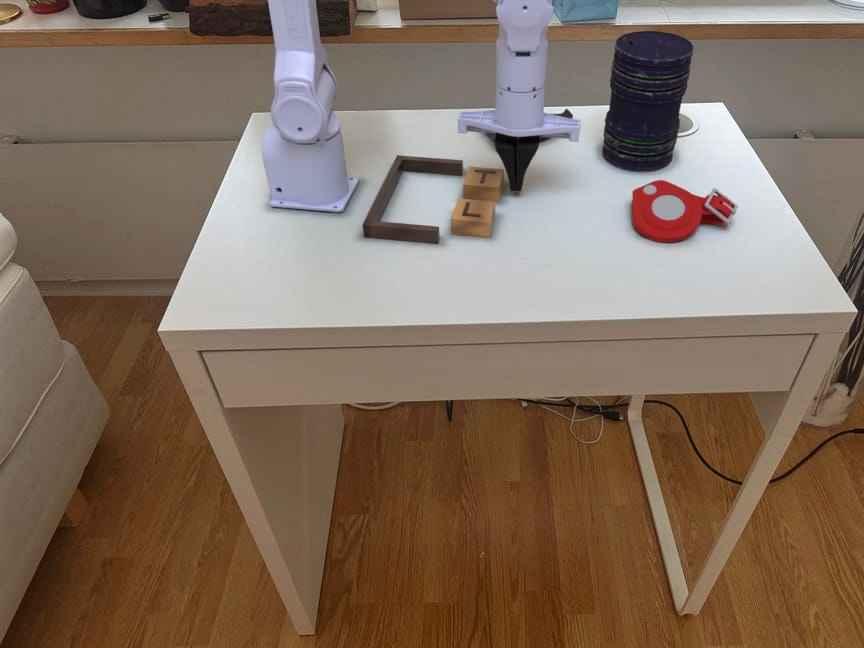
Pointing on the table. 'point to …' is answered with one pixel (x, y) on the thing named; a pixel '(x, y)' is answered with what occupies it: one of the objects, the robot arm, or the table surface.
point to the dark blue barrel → (646, 99)
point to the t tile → (483, 184)
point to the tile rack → (400, 164)
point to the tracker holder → (676, 211)
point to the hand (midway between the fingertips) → (516, 187)
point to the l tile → (473, 218)
